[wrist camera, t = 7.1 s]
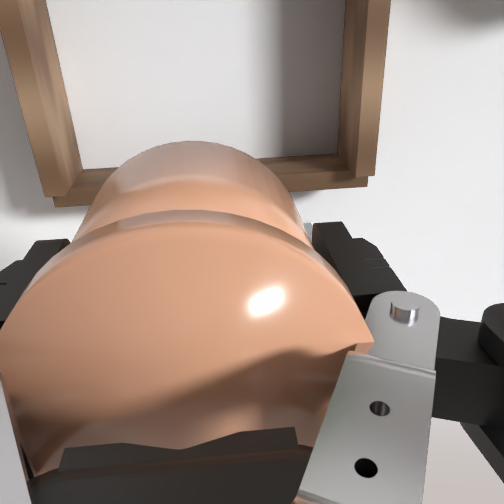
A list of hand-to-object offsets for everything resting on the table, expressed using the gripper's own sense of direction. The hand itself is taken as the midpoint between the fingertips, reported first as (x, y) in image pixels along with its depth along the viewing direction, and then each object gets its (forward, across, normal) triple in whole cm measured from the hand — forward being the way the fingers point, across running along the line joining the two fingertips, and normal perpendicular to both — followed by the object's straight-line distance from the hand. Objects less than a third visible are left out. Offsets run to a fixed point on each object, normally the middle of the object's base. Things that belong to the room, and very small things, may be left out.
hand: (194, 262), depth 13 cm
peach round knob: (+1, 0, 0) cm, 1 cm away
